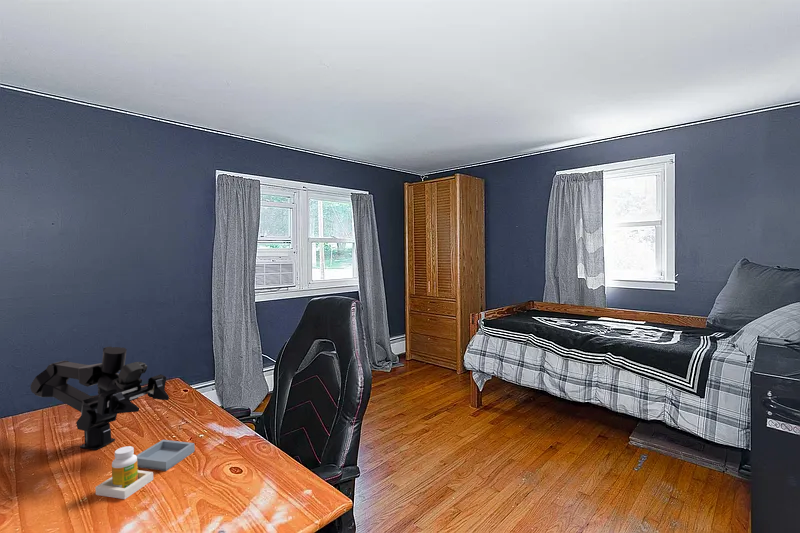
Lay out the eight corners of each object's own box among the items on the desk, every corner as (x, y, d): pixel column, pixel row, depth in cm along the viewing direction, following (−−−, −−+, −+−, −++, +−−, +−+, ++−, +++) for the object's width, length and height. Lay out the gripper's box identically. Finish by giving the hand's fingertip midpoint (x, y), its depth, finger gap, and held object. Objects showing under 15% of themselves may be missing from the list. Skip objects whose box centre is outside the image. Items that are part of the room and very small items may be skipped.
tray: (132, 466, 113) (132, 457, 113) (163, 447, 124) (163, 439, 124) (166, 471, 111) (166, 462, 111) (194, 451, 122) (194, 443, 122)
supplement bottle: (125, 494, 100) (124, 456, 100) (107, 491, 102) (105, 454, 101) (143, 482, 106) (142, 445, 105) (125, 479, 107) (124, 443, 106)
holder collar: (95, 494, 100) (95, 486, 100) (126, 475, 109) (125, 468, 109) (124, 499, 99) (124, 491, 98) (153, 479, 107) (153, 472, 107)
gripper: (86, 368, 112) (124, 388, 106) (150, 352, 129) (185, 368, 124) (82, 406, 113) (119, 427, 108) (145, 385, 131) (180, 402, 125)
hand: (153, 403), depth 116 cm, fingers open, 9 cm apart
